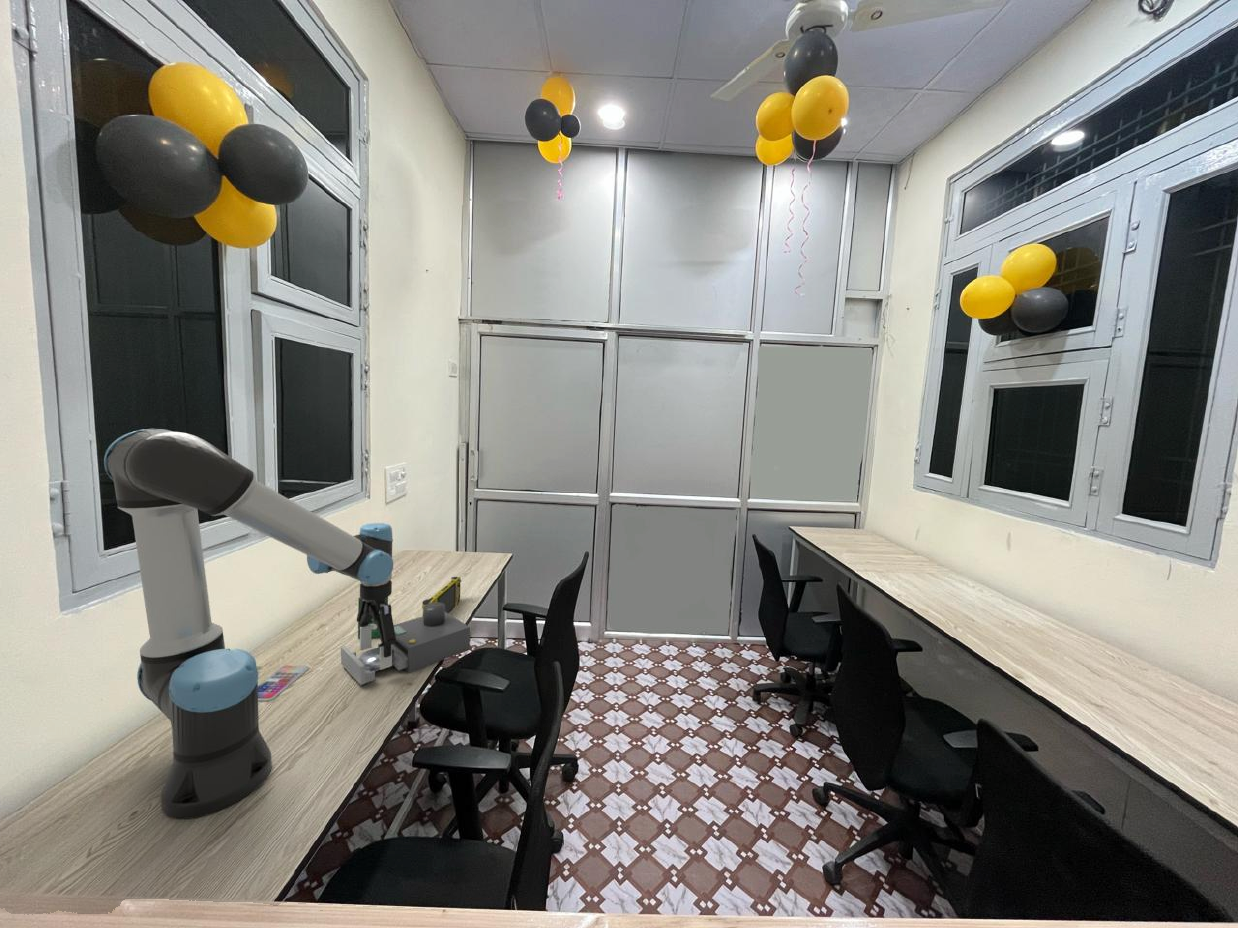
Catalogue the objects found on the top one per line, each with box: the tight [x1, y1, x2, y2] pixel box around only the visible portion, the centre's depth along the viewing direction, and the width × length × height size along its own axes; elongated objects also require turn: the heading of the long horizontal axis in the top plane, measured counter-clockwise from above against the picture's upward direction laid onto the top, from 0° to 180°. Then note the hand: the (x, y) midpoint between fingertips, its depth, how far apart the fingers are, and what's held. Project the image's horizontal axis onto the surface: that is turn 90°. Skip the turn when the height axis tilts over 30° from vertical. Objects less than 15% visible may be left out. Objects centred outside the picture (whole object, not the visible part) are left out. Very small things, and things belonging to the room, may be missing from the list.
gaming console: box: [421, 576, 462, 614], centre depth 156 cm, size 26×4×10 cm, turn 178°
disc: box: [358, 647, 394, 670], centre depth 122 cm, size 8×8×2 cm
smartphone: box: [258, 665, 310, 703], centre depth 114 cm, size 7×1×15 cm
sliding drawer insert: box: [340, 642, 408, 686], centre depth 123 cm, size 17×14×5 cm
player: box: [393, 602, 471, 674], centre depth 132 cm, size 18×16×12 cm
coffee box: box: [357, 596, 389, 640], centre depth 138 cm, size 8×3×13 cm, turn 99°
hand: (375, 657), depth 121 cm, fingers open, 13 cm apart
